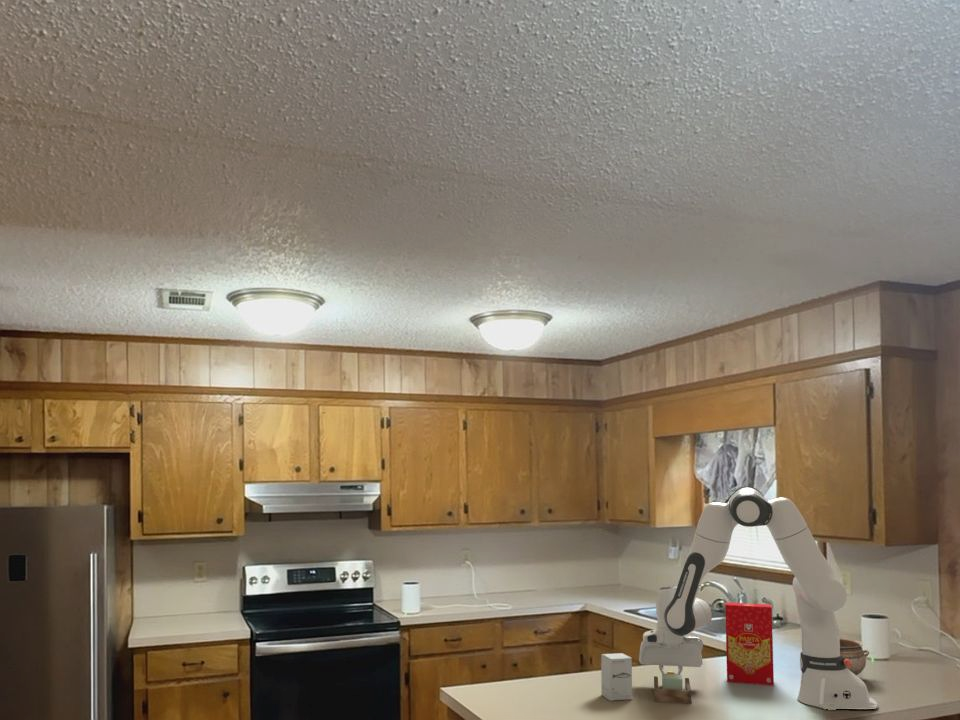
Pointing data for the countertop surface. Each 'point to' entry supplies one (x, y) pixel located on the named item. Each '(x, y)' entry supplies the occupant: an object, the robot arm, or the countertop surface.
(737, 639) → the food packaging
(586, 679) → the countertop surface
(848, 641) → the cooking pot
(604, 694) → the supplement box
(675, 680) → the block
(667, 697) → the lane
